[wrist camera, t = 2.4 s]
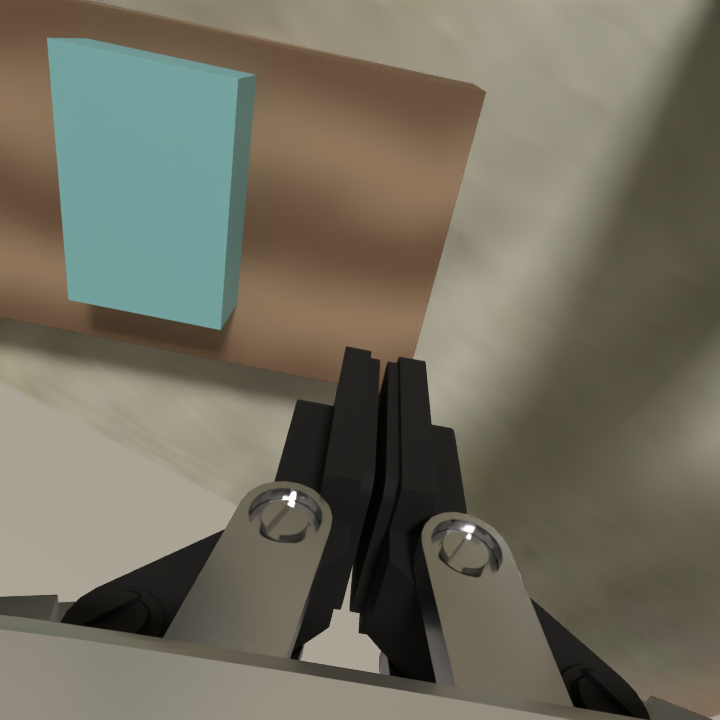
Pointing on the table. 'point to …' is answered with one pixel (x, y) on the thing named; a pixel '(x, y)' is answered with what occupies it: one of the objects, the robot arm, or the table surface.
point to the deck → (256, 193)
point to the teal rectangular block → (151, 178)
